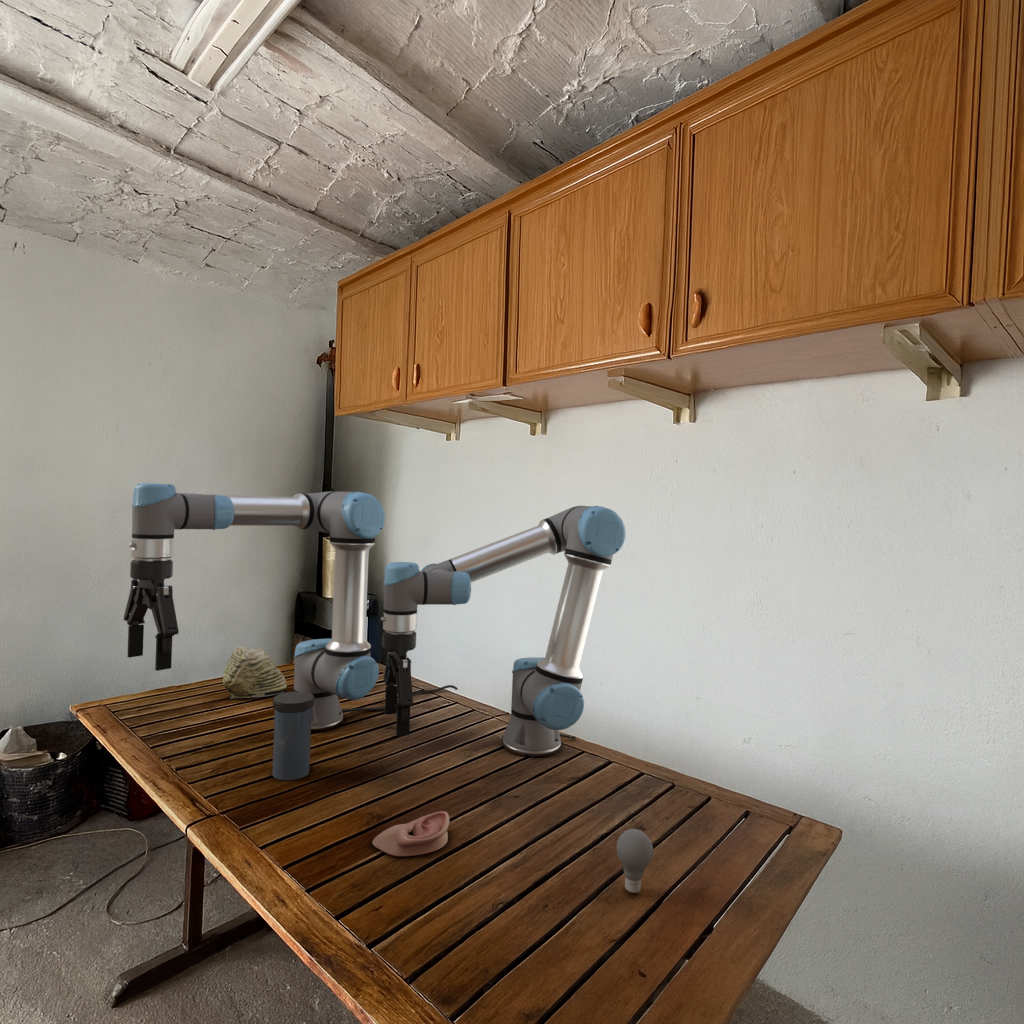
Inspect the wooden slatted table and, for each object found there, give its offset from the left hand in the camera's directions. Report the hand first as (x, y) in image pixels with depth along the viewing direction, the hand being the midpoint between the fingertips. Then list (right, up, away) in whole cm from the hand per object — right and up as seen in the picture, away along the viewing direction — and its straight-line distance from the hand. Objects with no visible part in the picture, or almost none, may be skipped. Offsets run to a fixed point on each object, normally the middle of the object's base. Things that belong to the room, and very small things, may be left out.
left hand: (148, 662), depth 129 cm
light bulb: (+94, -33, -24) cm, 103 cm away
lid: (+24, -12, +15) cm, 31 cm away
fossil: (-6, -27, +69) cm, 74 cm away
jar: (+24, -29, +15) cm, 40 cm away
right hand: (+48, -17, +14) cm, 53 cm away
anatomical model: (+55, -31, -11) cm, 64 cm away
